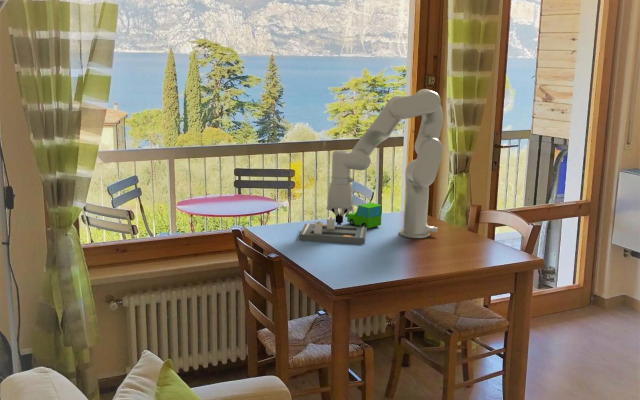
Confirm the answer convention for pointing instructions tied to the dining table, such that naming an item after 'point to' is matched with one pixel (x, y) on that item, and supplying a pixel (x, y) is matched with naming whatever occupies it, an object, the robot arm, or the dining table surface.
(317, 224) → the tab
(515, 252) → the dining table surface
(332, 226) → the tab
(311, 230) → the switch board
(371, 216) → the toy car
